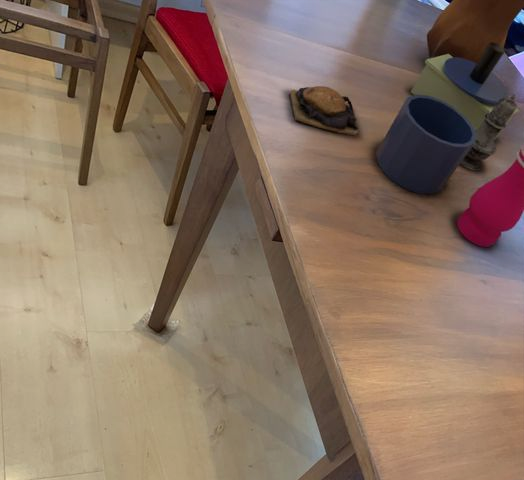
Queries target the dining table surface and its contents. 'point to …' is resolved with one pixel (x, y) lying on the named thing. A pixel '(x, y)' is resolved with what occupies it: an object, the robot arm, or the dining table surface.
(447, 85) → the pale green block
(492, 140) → the grey knobbly column
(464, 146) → the pot
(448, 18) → the butternut squash
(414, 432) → the dining table surface
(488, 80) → the lid
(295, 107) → the pastry on board
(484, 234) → the pepper mill
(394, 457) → the dining table surface
